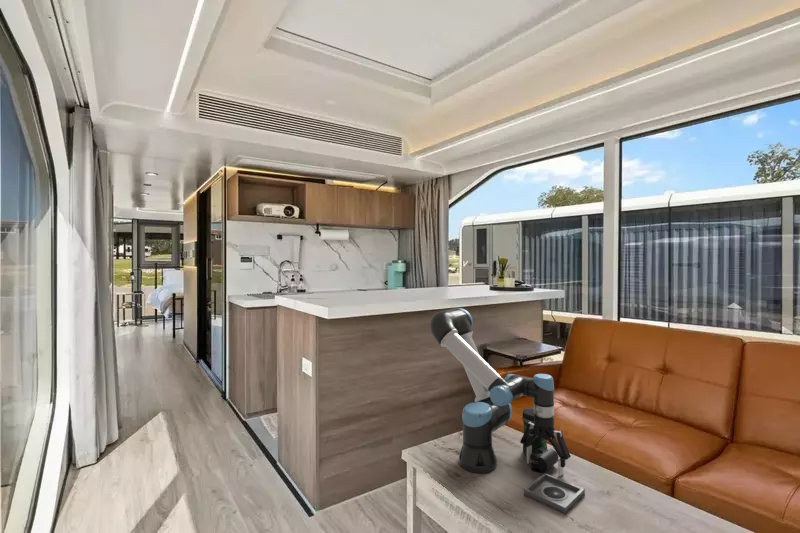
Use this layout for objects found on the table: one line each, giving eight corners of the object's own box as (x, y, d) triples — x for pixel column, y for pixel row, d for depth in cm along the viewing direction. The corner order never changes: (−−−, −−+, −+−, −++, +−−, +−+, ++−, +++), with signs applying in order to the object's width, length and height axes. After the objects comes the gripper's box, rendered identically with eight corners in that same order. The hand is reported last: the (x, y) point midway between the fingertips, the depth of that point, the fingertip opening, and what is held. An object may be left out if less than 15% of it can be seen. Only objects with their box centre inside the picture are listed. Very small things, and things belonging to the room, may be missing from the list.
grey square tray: (523, 495, 147) (523, 489, 147) (544, 478, 157) (544, 472, 157) (565, 514, 136) (565, 507, 136) (584, 494, 146) (584, 488, 146)
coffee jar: (550, 453, 176) (549, 410, 175) (541, 460, 171) (540, 415, 170) (529, 445, 183) (528, 404, 182) (519, 452, 178) (519, 409, 177)
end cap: (547, 477, 158) (547, 459, 158) (529, 470, 163) (529, 453, 163) (558, 467, 165) (558, 450, 165) (541, 461, 170) (541, 444, 170)
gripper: (511, 409, 170) (511, 460, 170) (570, 426, 152) (571, 484, 153) (520, 404, 175) (521, 454, 176) (579, 420, 157) (579, 476, 158)
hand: (544, 468), depth 164 cm, fingers open, 12 cm apart
